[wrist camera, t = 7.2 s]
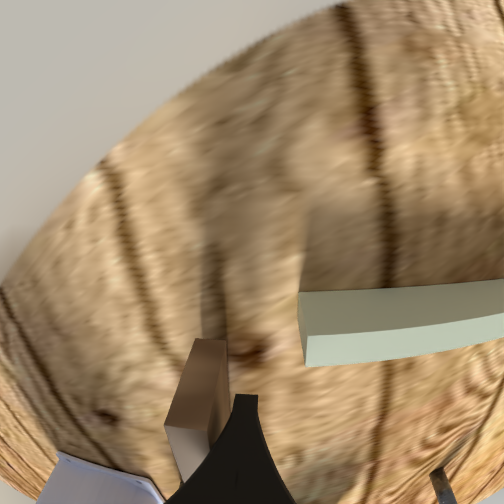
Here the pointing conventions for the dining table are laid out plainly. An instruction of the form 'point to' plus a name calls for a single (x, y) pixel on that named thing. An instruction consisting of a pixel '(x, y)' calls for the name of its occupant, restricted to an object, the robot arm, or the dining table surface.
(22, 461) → the dining table surface
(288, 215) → the dining table surface
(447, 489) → the post
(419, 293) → the pale green bar
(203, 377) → the board
